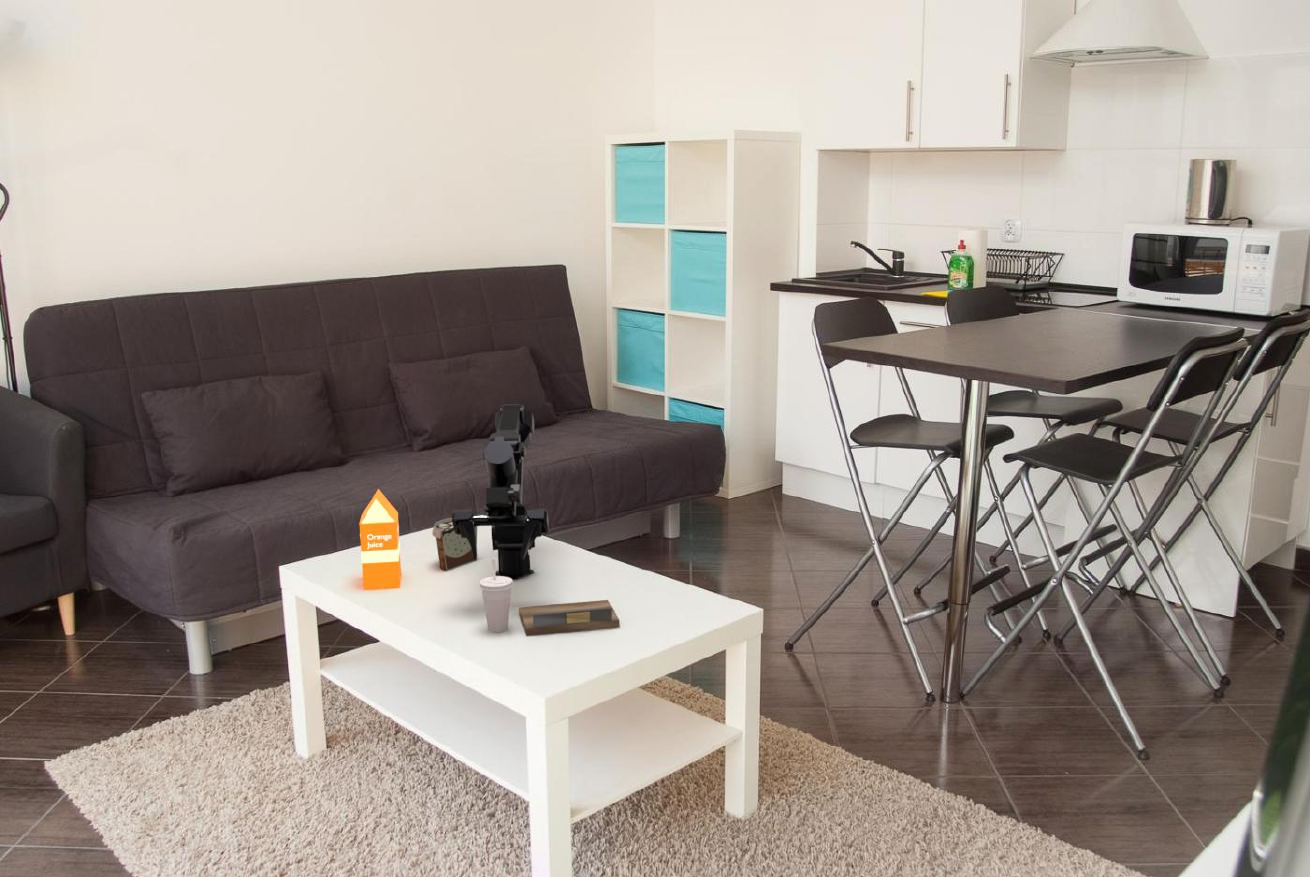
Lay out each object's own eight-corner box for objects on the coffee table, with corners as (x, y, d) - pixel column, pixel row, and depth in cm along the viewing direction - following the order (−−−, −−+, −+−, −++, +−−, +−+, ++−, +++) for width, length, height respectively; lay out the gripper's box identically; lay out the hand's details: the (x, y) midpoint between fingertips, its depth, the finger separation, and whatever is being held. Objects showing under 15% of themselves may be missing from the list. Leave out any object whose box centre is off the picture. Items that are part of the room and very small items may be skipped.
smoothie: (501, 620, 229) (498, 552, 226) (521, 628, 225) (518, 559, 222) (474, 629, 225) (471, 559, 222) (494, 637, 220) (491, 566, 218)
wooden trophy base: (519, 614, 233) (518, 595, 232) (607, 606, 236) (607, 588, 236) (526, 636, 221) (525, 616, 220) (619, 628, 225) (619, 608, 224)
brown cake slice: (461, 555, 272) (459, 513, 270) (480, 559, 269) (479, 517, 267) (422, 568, 263) (420, 525, 261) (441, 573, 259) (439, 529, 257)
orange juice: (402, 575, 258) (397, 487, 254) (400, 588, 249) (395, 497, 245) (365, 577, 257) (360, 489, 253) (362, 590, 248) (357, 499, 244)
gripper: (451, 470, 230) (445, 540, 221) (546, 469, 230) (543, 538, 222) (458, 499, 239) (452, 567, 230) (549, 498, 240) (547, 565, 231)
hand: (498, 559), depth 228 cm, fingers open, 9 cm apart
